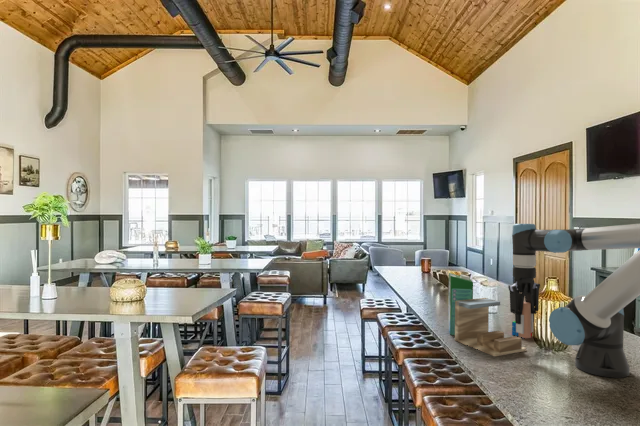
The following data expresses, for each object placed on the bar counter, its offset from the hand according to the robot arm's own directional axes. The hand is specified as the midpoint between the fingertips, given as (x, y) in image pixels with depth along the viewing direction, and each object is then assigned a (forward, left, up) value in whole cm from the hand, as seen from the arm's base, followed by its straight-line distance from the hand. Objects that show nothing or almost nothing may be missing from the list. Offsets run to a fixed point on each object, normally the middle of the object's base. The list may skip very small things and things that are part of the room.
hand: (524, 331), depth 153 cm
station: (+16, +1, -9) cm, 18 cm away
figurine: (-2, -28, -9) cm, 30 cm away
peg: (0, 0, -2) cm, 2 cm away
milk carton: (+34, -1, -9) cm, 35 cm away
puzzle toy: (+20, -22, -10) cm, 31 cm away
